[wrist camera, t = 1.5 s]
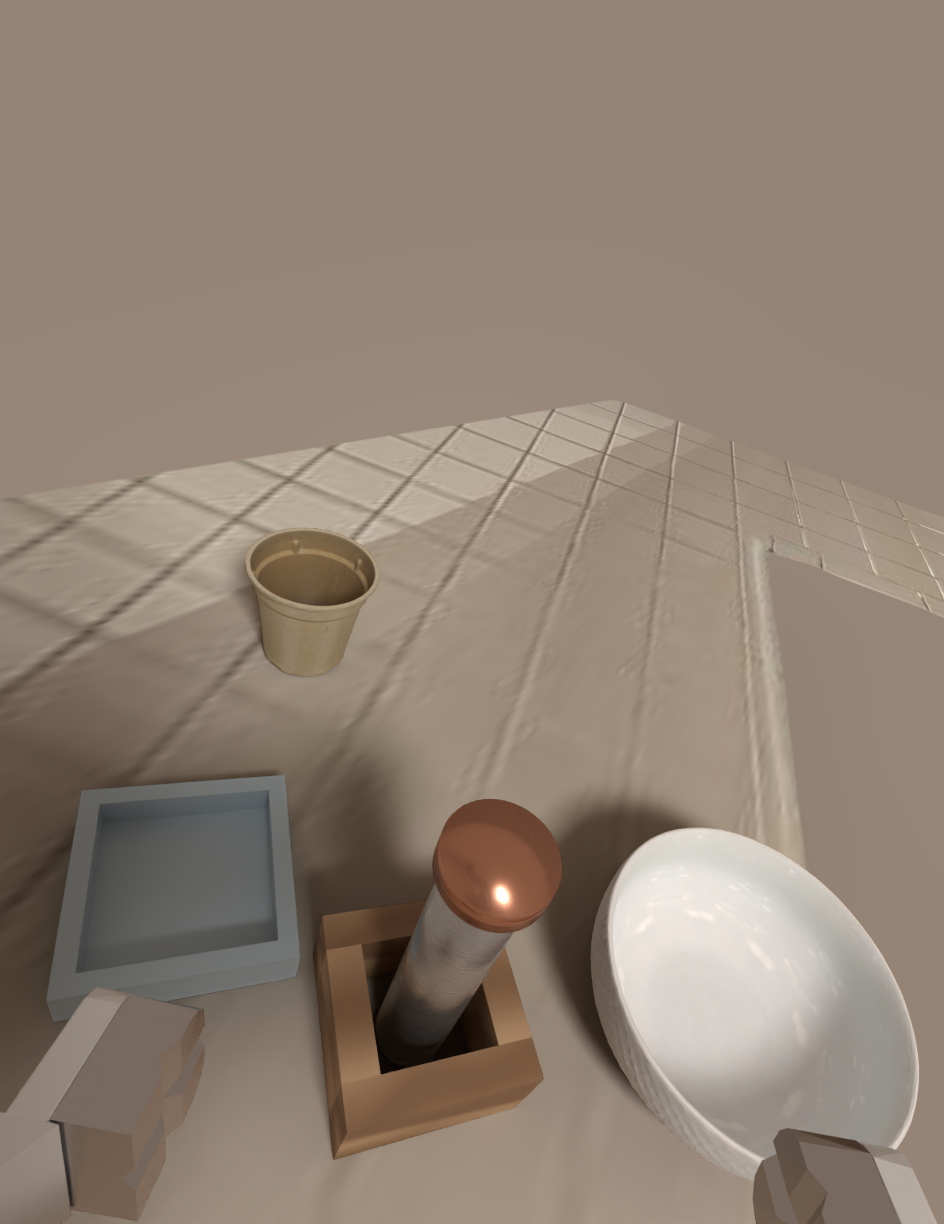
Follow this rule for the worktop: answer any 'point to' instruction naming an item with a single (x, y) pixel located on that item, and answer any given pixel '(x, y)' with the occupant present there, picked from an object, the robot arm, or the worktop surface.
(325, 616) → the flower pot
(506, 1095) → the socket block
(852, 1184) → the robot arm
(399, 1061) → the pin
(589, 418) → the worktop surface
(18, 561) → the worktop surface
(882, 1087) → the cereal bowl
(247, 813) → the tray
